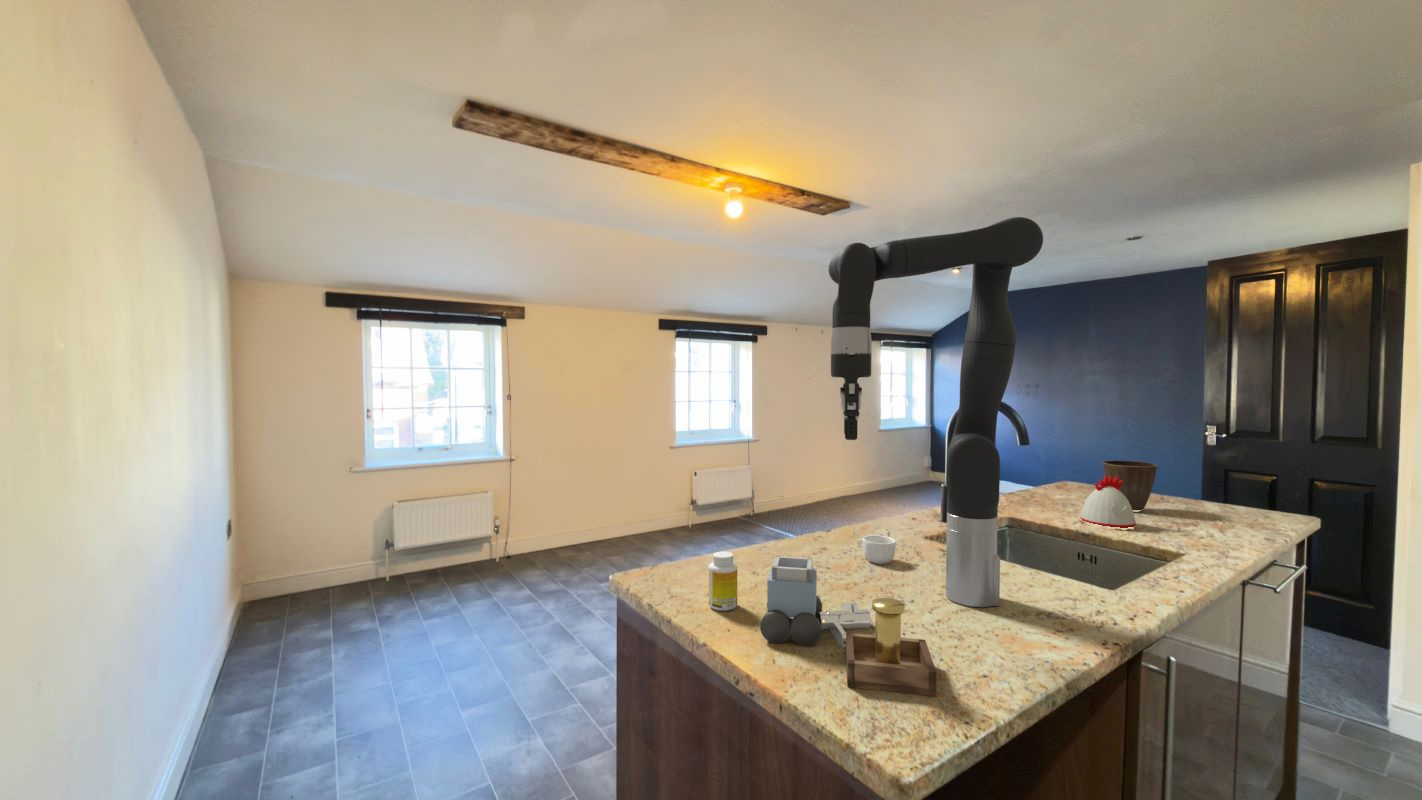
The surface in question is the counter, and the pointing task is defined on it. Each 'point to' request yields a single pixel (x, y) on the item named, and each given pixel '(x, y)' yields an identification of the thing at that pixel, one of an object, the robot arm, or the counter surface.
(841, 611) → the grey metal piece
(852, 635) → the tray
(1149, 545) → the counter surface
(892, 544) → the teacup
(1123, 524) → the kitchen timer
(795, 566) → the trolley
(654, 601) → the counter surface
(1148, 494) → the plant pot
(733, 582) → the supplement bottle
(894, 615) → the stop pin
